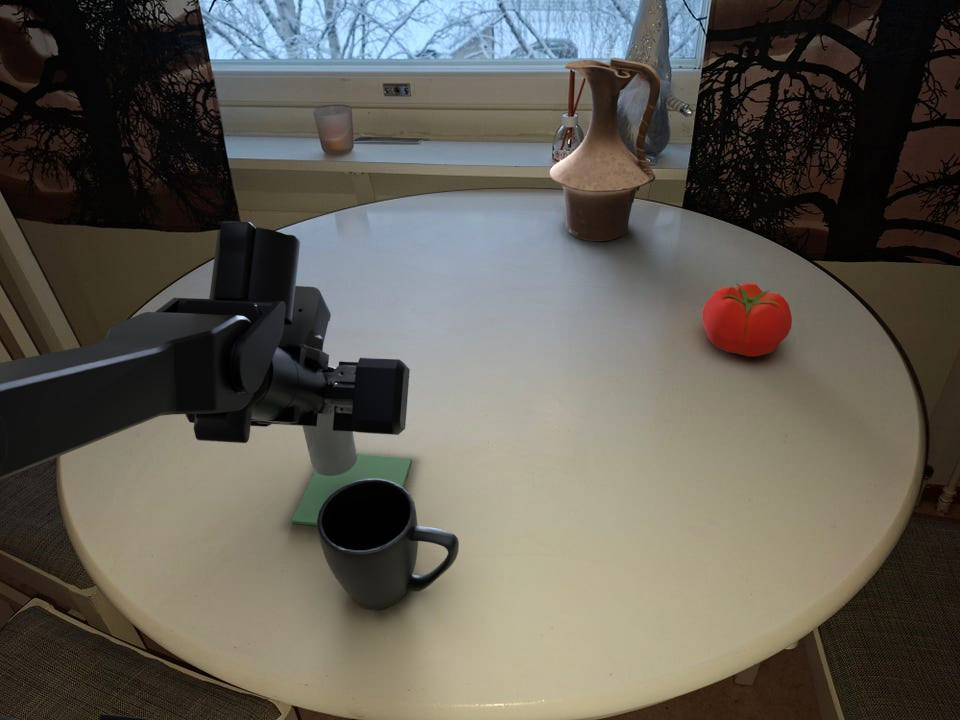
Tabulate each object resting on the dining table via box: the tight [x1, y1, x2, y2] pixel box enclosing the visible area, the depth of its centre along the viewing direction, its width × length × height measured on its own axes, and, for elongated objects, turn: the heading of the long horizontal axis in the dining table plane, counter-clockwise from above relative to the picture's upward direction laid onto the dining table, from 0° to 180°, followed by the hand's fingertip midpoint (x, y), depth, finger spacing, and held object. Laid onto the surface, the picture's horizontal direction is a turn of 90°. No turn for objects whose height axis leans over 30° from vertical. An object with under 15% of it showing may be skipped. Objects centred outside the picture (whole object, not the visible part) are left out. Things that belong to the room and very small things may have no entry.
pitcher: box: [549, 57, 661, 242], centre depth 111 cm, size 18×17×28 cm
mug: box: [316, 479, 460, 611], centre depth 59 cm, size 8×12×10 cm
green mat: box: [291, 453, 413, 527], centre depth 71 cm, size 10×10×1 cm
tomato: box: [701, 282, 793, 357], centre depth 88 cm, size 11×11×8 cm
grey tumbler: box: [302, 365, 358, 476], centre depth 65 cm, size 4×4×10 cm
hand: (328, 401), depth 66 cm, fingers closed on grey tumbler, 4 cm apart
